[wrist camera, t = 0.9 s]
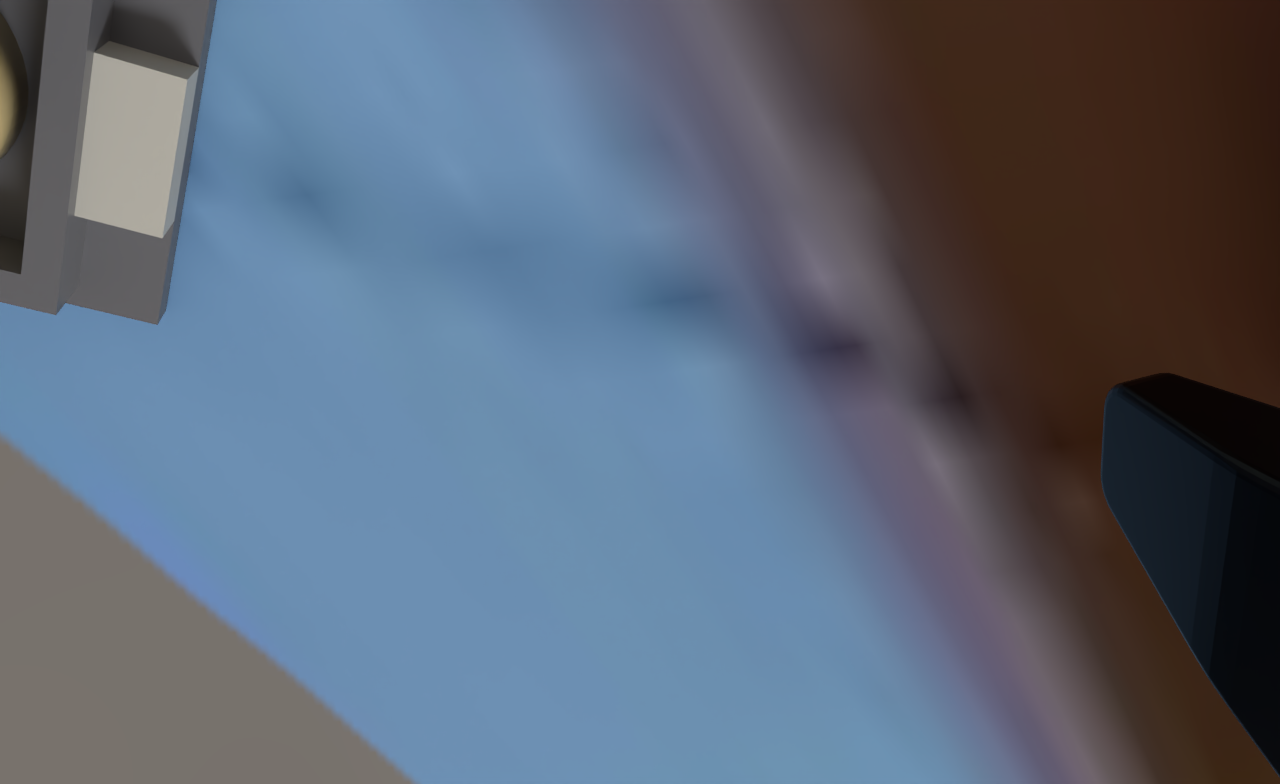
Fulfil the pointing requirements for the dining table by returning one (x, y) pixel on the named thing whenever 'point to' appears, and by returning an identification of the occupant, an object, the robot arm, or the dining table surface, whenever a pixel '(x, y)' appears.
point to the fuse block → (101, 152)
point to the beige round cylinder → (11, 89)
